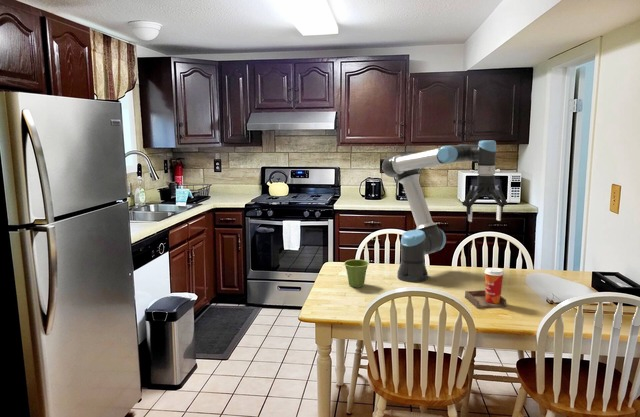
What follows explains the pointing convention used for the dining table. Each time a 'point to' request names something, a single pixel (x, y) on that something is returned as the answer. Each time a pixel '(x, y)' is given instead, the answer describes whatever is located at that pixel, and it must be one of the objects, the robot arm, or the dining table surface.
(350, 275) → the plant pot
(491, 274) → the paper cup
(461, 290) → the dining table surface
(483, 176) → the robot arm
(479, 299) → the walnut bay
